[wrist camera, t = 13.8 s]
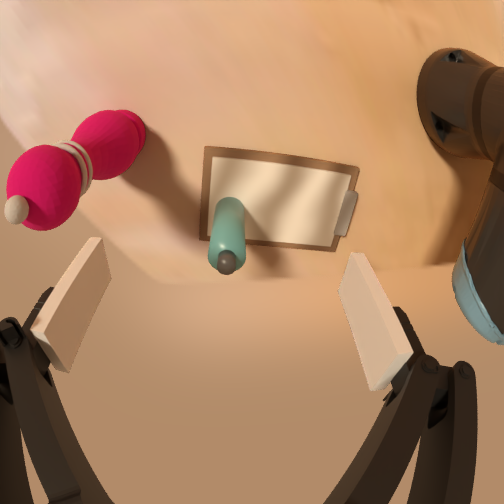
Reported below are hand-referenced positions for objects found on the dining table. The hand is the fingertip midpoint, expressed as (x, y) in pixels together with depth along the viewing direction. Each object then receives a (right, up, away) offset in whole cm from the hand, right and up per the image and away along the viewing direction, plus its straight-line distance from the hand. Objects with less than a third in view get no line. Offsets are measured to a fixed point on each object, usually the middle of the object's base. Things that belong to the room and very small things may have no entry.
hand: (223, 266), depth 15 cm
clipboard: (+4, +7, +20) cm, 21 cm away
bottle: (-1, +6, +19) cm, 20 cm away
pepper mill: (-14, +14, +14) cm, 24 cm away
